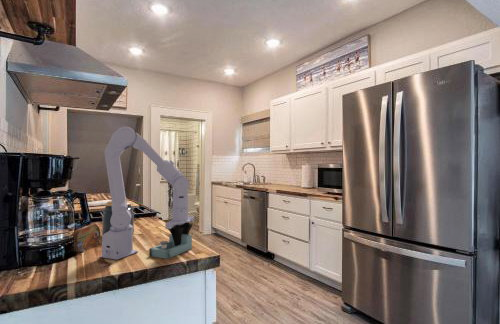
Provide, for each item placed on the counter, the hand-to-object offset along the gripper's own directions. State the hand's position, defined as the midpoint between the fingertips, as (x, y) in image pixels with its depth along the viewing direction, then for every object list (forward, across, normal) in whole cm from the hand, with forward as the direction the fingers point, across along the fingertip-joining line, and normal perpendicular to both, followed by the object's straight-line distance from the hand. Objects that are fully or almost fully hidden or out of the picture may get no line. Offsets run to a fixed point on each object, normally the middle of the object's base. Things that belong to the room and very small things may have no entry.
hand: (180, 244), depth 107 cm
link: (+1, -6, 0) cm, 6 cm away
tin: (+2, -14, +32) cm, 35 cm away
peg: (+1, -9, 0) cm, 9 cm away
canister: (+2, +6, +38) cm, 39 cm away
